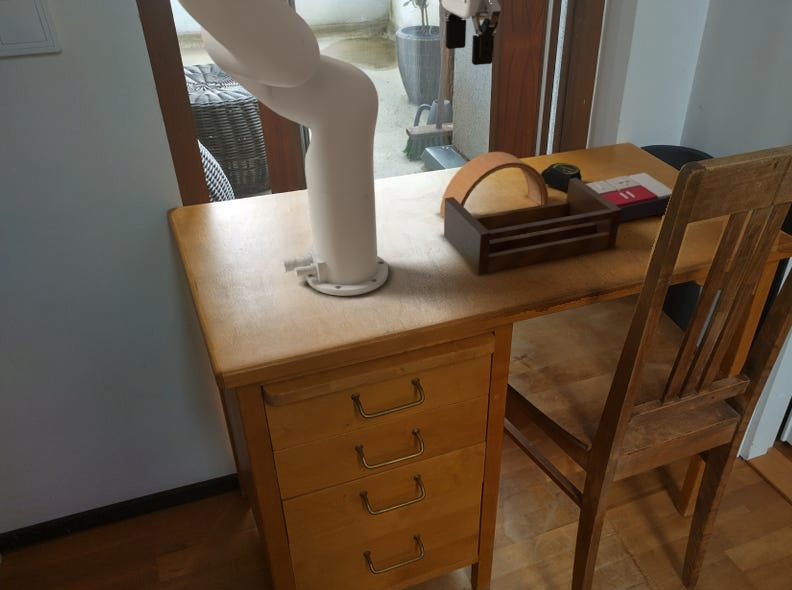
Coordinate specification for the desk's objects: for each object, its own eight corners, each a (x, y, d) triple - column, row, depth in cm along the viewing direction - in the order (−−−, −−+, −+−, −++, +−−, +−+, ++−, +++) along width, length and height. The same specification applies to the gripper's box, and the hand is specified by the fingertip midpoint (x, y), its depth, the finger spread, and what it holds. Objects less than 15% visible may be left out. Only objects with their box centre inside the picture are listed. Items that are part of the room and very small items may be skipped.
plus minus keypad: (578, 182, 134) (645, 169, 138) (576, 204, 136) (642, 189, 141) (610, 206, 126) (680, 191, 130) (607, 228, 128) (676, 212, 133)
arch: (548, 206, 133) (554, 154, 127) (454, 227, 125) (456, 172, 119) (531, 195, 137) (536, 144, 131) (439, 214, 129) (440, 160, 123)
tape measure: (537, 186, 141) (539, 167, 139) (558, 176, 145) (560, 158, 143) (565, 196, 137) (567, 178, 135) (586, 186, 141) (588, 168, 139)
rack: (478, 275, 112) (481, 234, 108) (443, 236, 122) (444, 198, 118) (615, 247, 121) (622, 209, 117) (571, 213, 131) (576, 177, 127)
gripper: (424, -82, 104) (424, 43, 114) (475, -67, 91) (469, 72, 102) (471, -82, 106) (467, 40, 117) (526, -68, 94) (516, 68, 104)
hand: (468, 55), depth 109 cm, fingers open, 9 cm apart
